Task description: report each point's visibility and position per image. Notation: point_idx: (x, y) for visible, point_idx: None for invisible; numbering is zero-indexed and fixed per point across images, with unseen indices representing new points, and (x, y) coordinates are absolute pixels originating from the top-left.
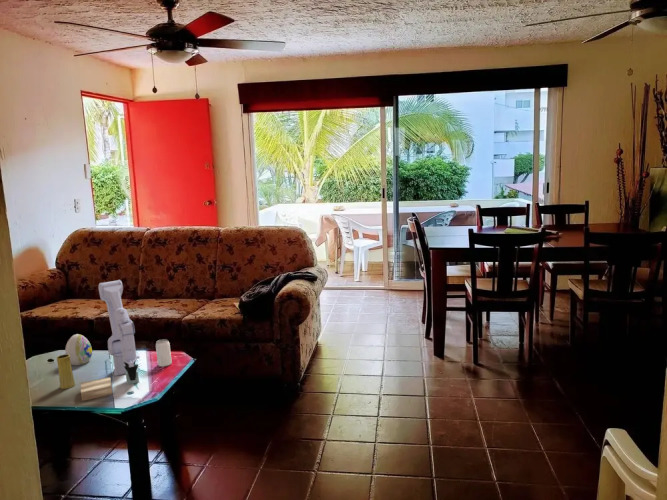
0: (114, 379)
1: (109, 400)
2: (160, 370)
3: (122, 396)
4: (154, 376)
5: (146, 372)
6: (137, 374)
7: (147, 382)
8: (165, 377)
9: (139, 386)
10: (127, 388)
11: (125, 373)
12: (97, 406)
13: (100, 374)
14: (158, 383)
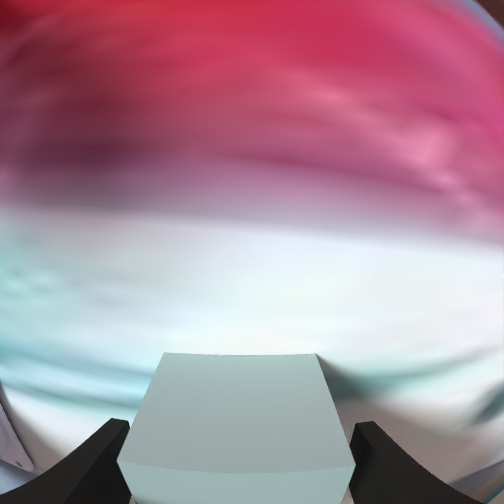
0: None
1: (480, 481)
2: (45, 55)
3: (500, 436)
4: (221, 127)
5: (12, 229)
6: (342, 437)
7: (405, 256)
8: (362, 13)
9: (449, 348)
10: (403, 441)
11: (4, 413)
12: (486, 499)
13: (4, 487)
14: (499, 143)
